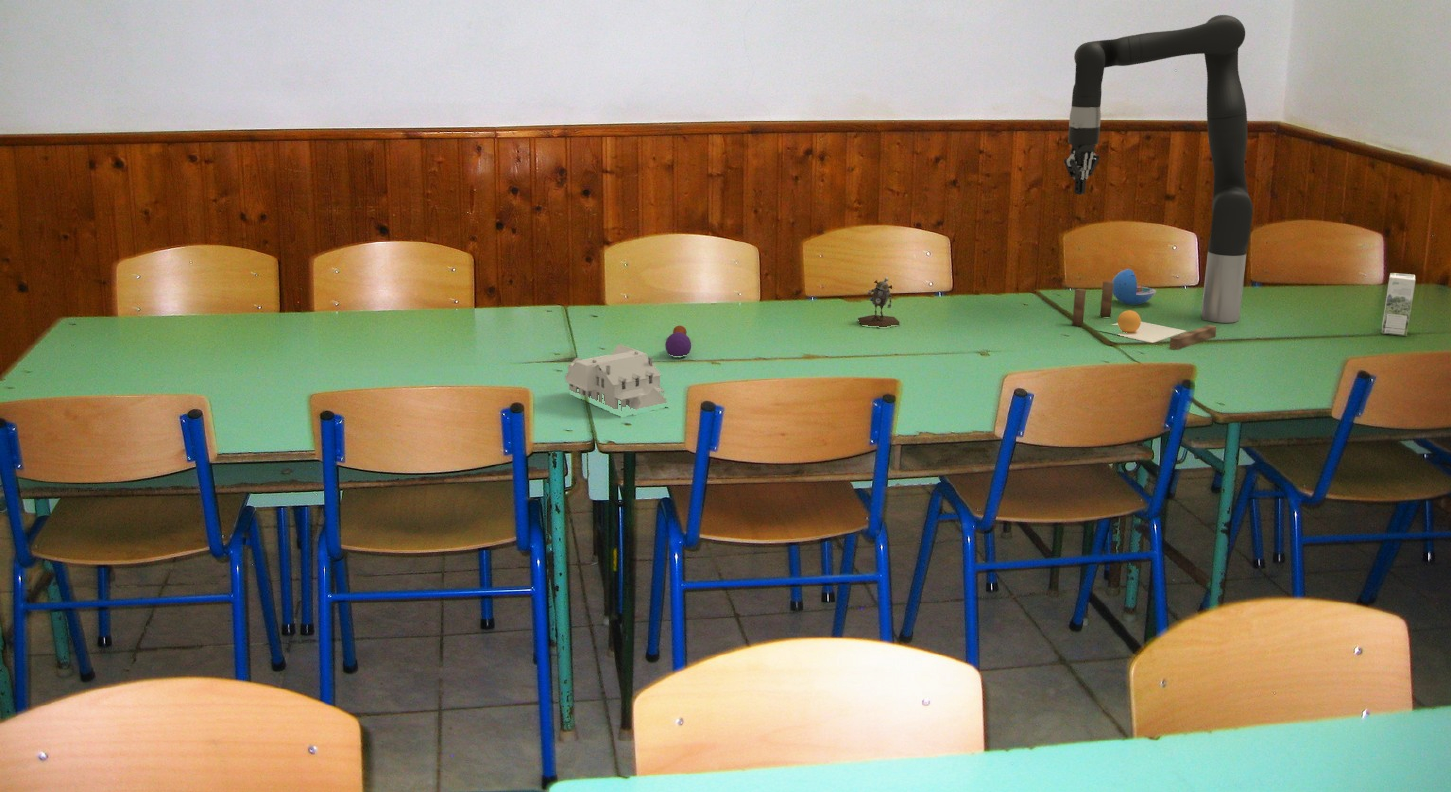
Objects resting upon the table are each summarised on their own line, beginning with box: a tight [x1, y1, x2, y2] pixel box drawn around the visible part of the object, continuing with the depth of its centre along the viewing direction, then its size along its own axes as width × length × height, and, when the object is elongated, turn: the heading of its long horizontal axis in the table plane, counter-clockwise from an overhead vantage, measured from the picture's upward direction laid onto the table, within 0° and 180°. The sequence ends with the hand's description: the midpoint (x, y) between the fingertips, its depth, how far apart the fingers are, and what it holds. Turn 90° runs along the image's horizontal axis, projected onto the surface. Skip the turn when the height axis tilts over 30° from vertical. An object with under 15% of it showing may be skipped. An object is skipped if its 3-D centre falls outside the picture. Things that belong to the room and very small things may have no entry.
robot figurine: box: [857, 276, 900, 327], centre depth 347 cm, size 11×9×12 cm
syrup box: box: [1381, 272, 1416, 337], centre depth 340 cm, size 6×6×14 cm
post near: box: [1072, 288, 1087, 327], centre depth 347 cm, size 3×3×9 cm
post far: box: [1099, 281, 1114, 318], centre depth 355 cm, size 3×3×9 cm
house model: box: [564, 343, 668, 411], centre depth 286 cm, size 19×20×10 cm
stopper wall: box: [1169, 324, 1217, 350], centre depth 332 cm, size 18×2×2 cm, turn 133°
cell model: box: [1111, 268, 1157, 306], centre depth 369 cm, size 10×12×10 cm
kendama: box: [665, 325, 692, 356], centre depth 325 cm, size 6×6×20 cm
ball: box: [1117, 309, 1142, 333], centre depth 341 cm, size 6×6×6 cm
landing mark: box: [1111, 321, 1188, 344], centre depth 342 cm, size 16×16×1 cm
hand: (1079, 193), depth 352 cm, fingers closed
